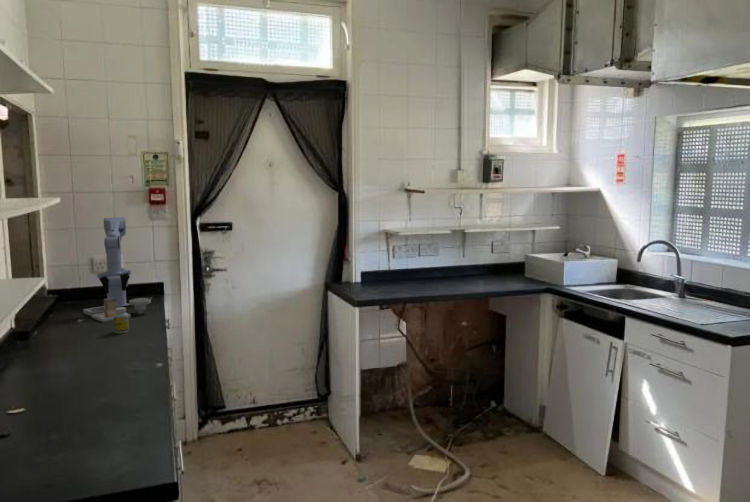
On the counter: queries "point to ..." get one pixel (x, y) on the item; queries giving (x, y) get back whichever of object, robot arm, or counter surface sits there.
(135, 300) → the showerhead
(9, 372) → the counter surface
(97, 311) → the holder
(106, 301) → the peg
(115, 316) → the supplement bottle
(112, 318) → the tray
